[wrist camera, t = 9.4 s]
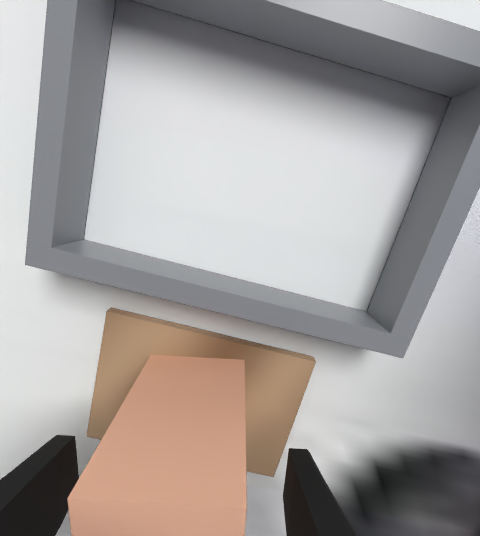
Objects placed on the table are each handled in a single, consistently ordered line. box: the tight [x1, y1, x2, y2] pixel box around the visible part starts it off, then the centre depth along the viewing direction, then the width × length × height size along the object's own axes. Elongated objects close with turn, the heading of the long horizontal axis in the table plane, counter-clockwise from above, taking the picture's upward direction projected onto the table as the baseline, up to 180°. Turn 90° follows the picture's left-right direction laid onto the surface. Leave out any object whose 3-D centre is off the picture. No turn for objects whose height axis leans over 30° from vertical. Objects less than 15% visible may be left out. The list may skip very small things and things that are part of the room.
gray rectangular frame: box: [25, 0, 480, 358], centre depth 10 cm, size 14×10×2 cm
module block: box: [67, 355, 247, 536], centre depth 10 cm, size 4×4×6 cm
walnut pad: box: [87, 308, 316, 477], centre depth 13 cm, size 9×6×1 cm
